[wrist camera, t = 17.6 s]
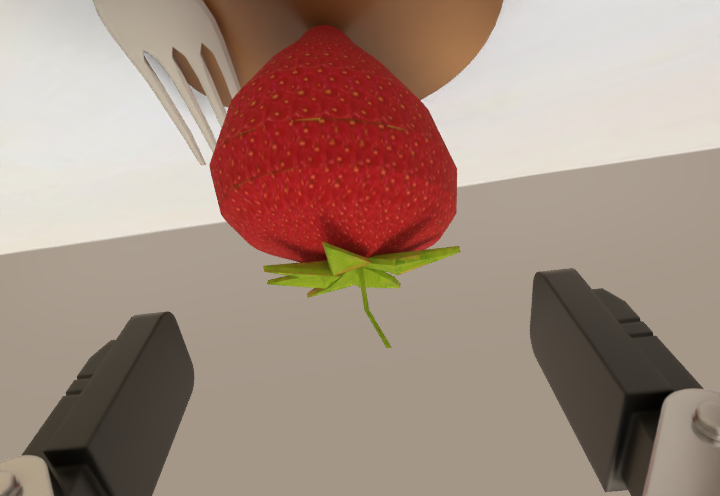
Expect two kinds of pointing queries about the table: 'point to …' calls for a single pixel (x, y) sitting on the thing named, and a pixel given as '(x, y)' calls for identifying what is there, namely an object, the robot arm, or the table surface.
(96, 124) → the table surface
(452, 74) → the copper coaster
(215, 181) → the strawberry
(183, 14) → the fork
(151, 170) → the table surface
